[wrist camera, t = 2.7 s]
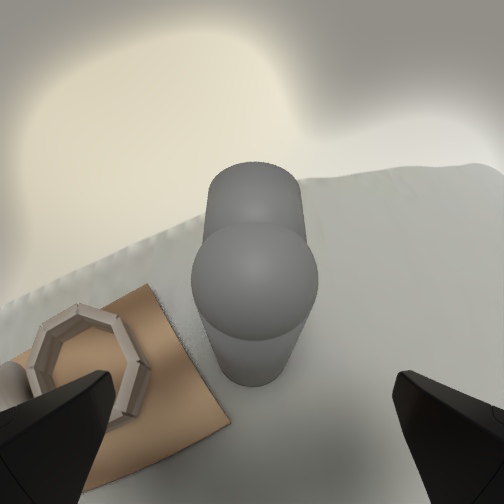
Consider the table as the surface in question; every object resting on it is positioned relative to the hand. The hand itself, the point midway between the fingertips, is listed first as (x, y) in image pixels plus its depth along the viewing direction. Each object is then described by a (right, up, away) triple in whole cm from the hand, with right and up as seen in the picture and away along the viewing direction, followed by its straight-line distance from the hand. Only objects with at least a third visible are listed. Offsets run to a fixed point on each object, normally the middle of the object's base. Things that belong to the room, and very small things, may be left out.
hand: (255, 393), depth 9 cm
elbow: (0, -3, +13) cm, 13 cm away
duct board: (-13, -8, +10) cm, 18 cm away
